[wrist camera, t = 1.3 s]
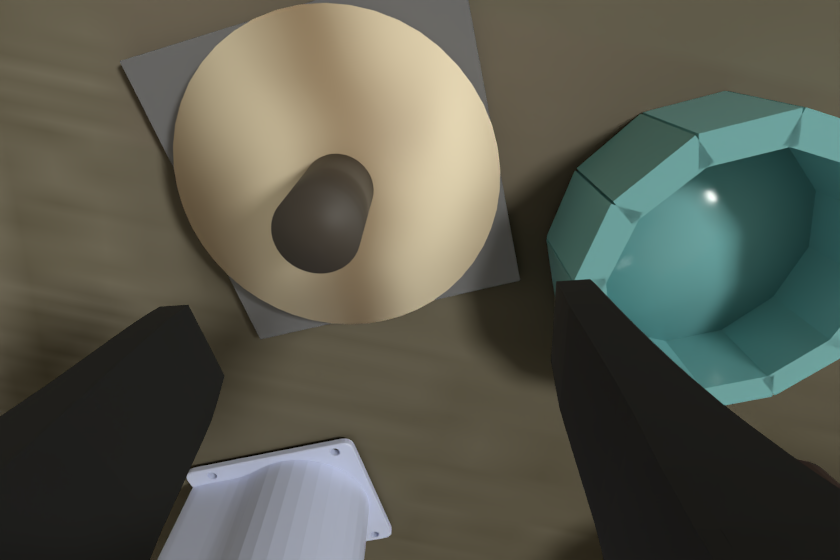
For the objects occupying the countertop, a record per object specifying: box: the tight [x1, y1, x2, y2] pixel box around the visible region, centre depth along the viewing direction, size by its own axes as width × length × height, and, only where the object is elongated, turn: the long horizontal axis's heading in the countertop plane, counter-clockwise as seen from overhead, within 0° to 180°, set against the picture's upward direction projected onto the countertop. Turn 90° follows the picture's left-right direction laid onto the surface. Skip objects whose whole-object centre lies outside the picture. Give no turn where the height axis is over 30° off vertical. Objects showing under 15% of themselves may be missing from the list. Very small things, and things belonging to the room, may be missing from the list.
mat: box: [120, 0, 520, 339], centre depth 19 cm, size 12×12×1 cm
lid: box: [173, 3, 500, 324], centre depth 16 cm, size 12×12×5 cm
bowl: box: [546, 91, 840, 405], centre depth 18 cm, size 11×11×4 cm
